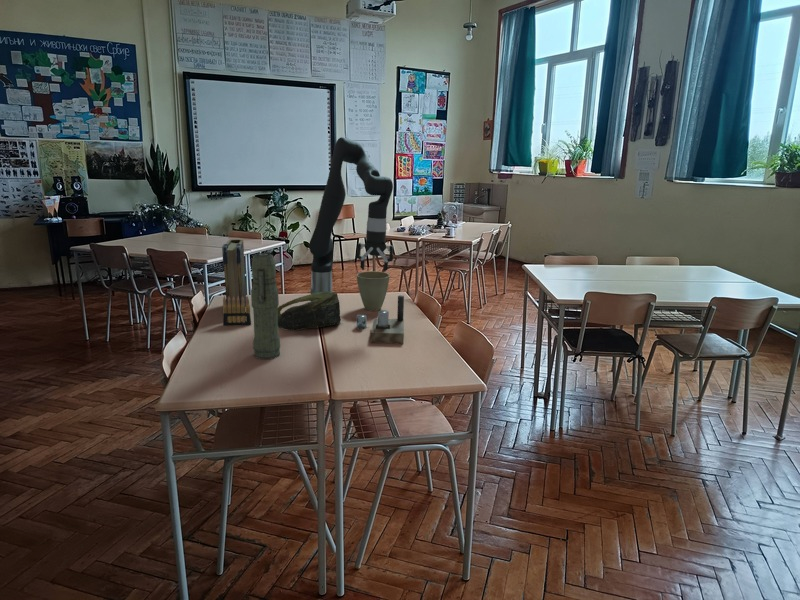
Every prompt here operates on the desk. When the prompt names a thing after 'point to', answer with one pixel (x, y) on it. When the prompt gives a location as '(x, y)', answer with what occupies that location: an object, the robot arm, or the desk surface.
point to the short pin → (361, 321)
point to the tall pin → (383, 319)
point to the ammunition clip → (236, 315)
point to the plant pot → (373, 288)
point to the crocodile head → (310, 312)
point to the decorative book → (234, 270)
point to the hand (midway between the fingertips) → (373, 270)
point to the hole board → (390, 327)
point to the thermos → (265, 307)
